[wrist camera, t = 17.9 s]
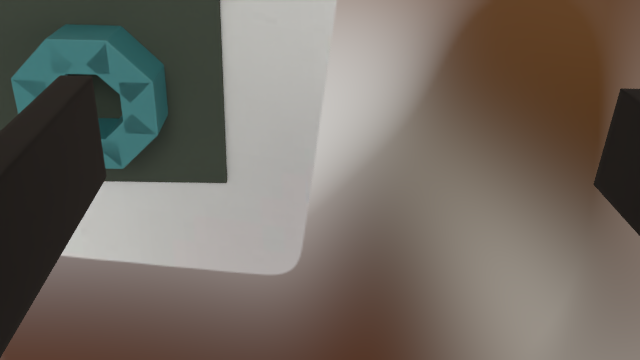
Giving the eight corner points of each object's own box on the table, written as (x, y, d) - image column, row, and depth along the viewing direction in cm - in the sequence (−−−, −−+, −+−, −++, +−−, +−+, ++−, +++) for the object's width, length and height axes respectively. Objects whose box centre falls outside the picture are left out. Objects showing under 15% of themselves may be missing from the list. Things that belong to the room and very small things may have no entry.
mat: (218, -19, 43) (218, -18, 43) (227, 180, 51) (226, 183, 50) (-43, -27, 42) (-46, -26, 42) (5, 177, 50) (3, 179, 49)
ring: (160, 26, 44) (149, 41, 40) (171, 147, 49) (161, 169, 45) (25, 22, 44) (1, 37, 40) (48, 144, 48) (29, 167, 45)
